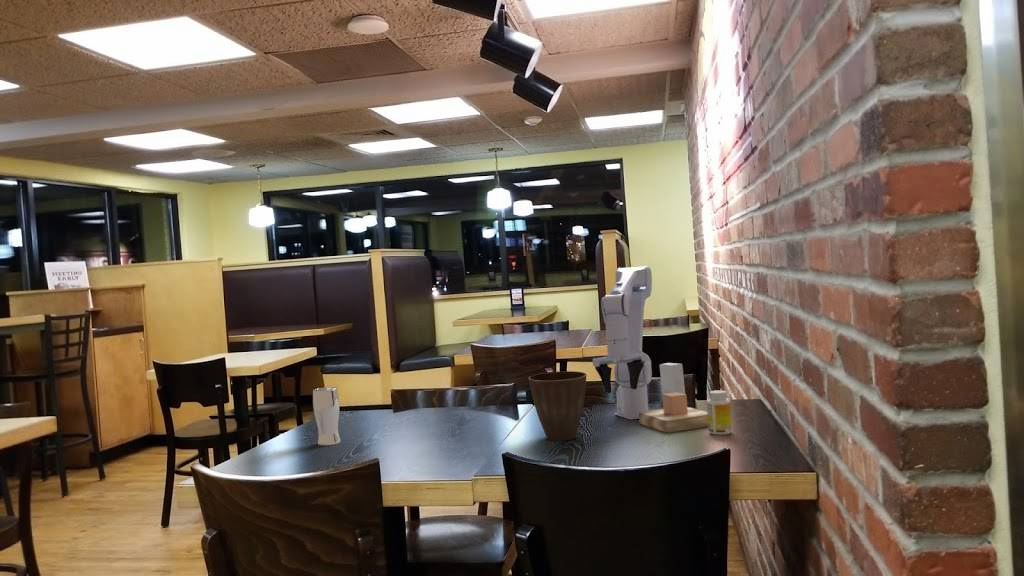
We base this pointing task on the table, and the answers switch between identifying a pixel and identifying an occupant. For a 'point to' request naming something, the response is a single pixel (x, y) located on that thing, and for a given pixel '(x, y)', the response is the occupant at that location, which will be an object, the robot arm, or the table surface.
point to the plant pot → (559, 402)
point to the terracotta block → (675, 403)
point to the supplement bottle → (719, 413)
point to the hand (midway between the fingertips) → (621, 390)
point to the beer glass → (327, 415)
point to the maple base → (674, 420)
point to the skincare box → (672, 378)
